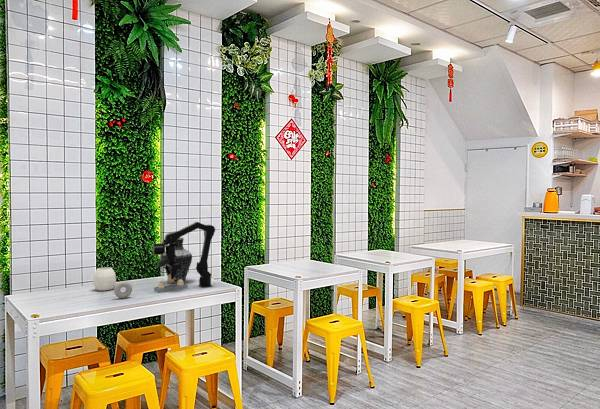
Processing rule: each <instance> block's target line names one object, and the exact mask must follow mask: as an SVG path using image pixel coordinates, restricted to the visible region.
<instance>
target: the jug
mask: <svg viewBox="0 0 600 409" xmlns="http://www.w3.org/2000/svg"><path fill="white" fill-rule="evenodd" d="M184 241H185V240H184V237H180V238H179V239H178V240H176V241H175V242H176V244H177V245H178V246H175V255H176V257H175V262H177V263H179V264H181V268H180V269H178V270H177V272H176V274H175V277H174V282H169V283H170V284H177V281H178V280H180V279H182V280H183V281H184V282H185V281H186V278H187V276H188V272H189V269H190V267H191V264H192V261H193V254H192V253H191V251H189V250H187V249H186V248H184V245H183V243H184ZM162 242H163V241H161V242H160V243H159V244H162ZM175 242H173V243H169V244H174V243H175ZM169 244H168V245H169ZM160 255H161V256H160V260H161V259H163V258H164V256H165V255H166V251H165V252H164V253H163V254H160ZM164 270H165V273H166V277H168V274H167V271H166V269H165V268H164Z"/></svg>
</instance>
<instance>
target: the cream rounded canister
mask: <svg viewBox="0 0 600 409" xmlns="http://www.w3.org/2000/svg"><path fill="white" fill-rule="evenodd" d="M92 279H93V286H94V289H95V290H96V291H101V292H103V291H104V292H107V291H111V290H114V288H115V286H116V284H117V276H116V272H115V270H114V269H113V268H112V267H108V266H106V267H98V268H96V270H95V272H94V275H93V278H92ZM106 290H107V291H106Z"/></svg>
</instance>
